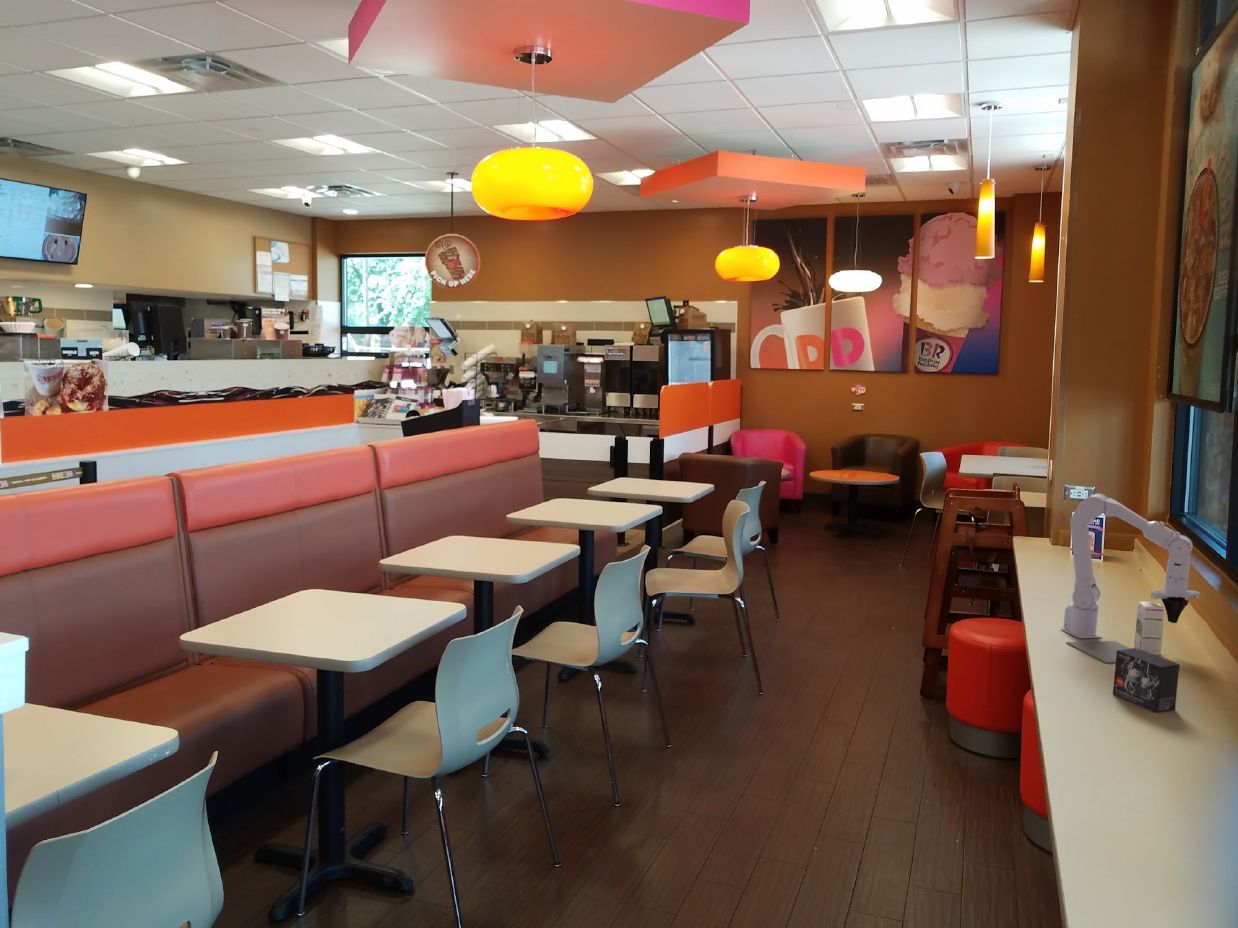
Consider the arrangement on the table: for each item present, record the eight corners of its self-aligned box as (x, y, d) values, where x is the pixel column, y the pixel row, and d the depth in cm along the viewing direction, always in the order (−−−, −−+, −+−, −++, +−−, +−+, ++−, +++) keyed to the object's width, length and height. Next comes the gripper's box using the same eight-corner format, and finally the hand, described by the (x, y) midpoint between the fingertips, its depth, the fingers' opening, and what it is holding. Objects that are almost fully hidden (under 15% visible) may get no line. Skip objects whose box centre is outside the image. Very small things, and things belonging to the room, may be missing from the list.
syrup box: (1161, 655, 276) (1166, 607, 274) (1139, 653, 277) (1144, 605, 275) (1154, 649, 281) (1159, 602, 280) (1132, 647, 283) (1137, 600, 281)
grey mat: (1066, 643, 285) (1066, 641, 285) (1114, 642, 287) (1114, 640, 287) (1105, 663, 267) (1105, 661, 267) (1156, 662, 270) (1156, 660, 270)
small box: (1111, 694, 243) (1115, 649, 242) (1130, 691, 246) (1135, 647, 244) (1156, 713, 231) (1160, 666, 229) (1176, 710, 233) (1181, 663, 232)
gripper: (1165, 580, 273) (1160, 626, 274) (1209, 580, 275) (1204, 625, 277) (1147, 574, 279) (1143, 619, 281) (1191, 574, 282) (1186, 618, 284)
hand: (1172, 622), depth 279 cm, fingers closed
